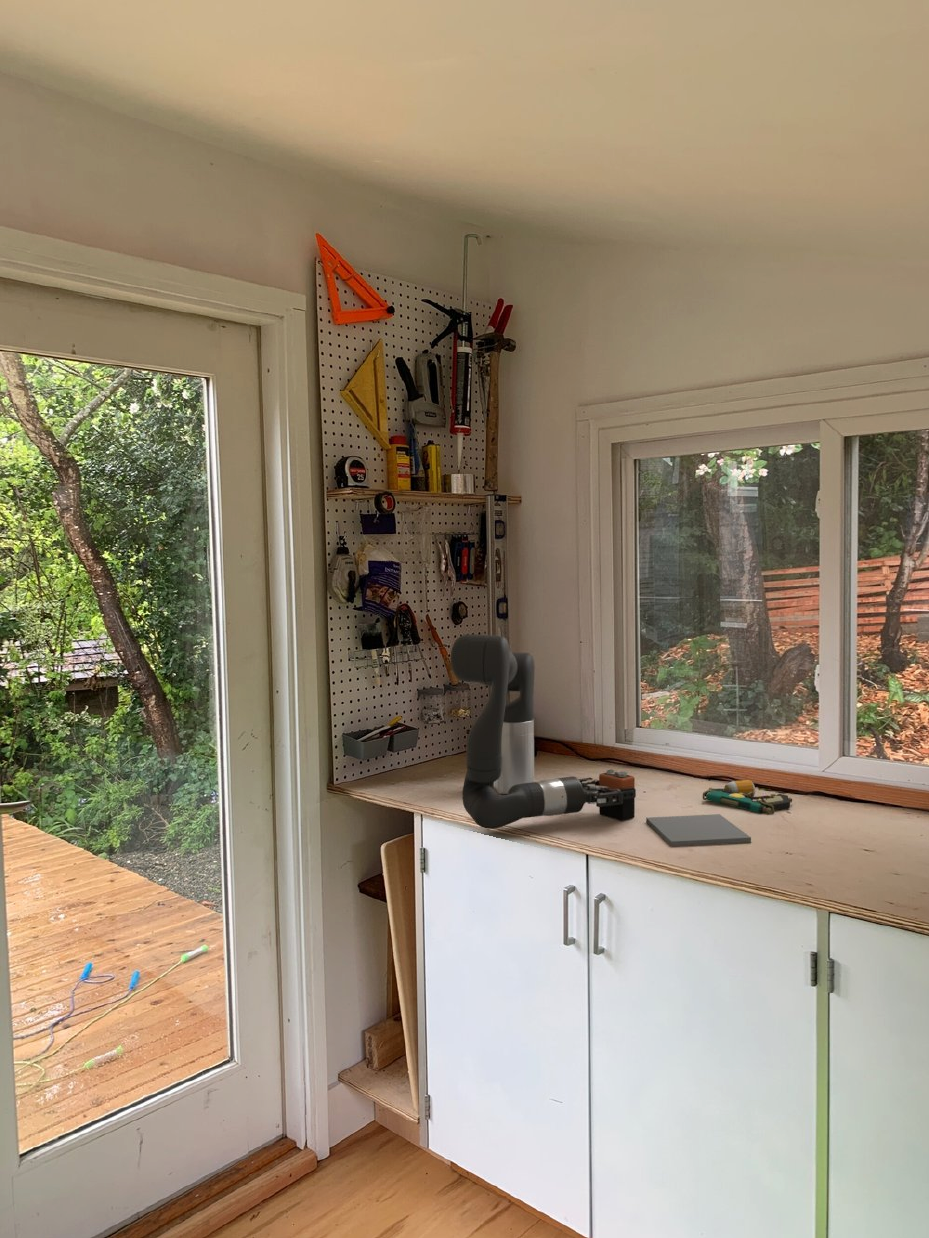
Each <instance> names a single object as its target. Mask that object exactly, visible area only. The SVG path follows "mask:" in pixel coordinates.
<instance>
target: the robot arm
mask: <svg viewBox="0 0 929 1238" xmlns="http://www.w3.org/2000/svg"><path fill="white" fill-rule="evenodd" d="M449 656H450V657H449V660H450V667H451V671H452V673H453V675H454V676H455V677H456V678H457V679H458V680H460V681H462V682H466V683H467V682H468V683H479V684H482V685H484V686H486V687H490V688H491V689H490V695H489V698H488V701H487V703H486V705H485V706H484V708H483V710H482V711H481V713H480V714H479V716H478V717H477V719H476V720H475V721H474V723H473V725H472V726H471V727H470V731H469V732H468V736H467V738H466V739H467V740H466V747H465V748H466V773H465V777H464V782H463V786H462V794H461V795H462V804H463V807H464V810H465V811H466V813H467V814H468V815H469V816H470V817H471V819H472V820H473V821H474V822H475V823H476V825H477V826H479V827H480V828H483V829H487V830H488V829H489V830H492V829H493V830H494V829H499V828H503V827H505V826H508V825H511V824H512V823H515V822H517V821H519V820H522V819H528V818H536V817H551V816H552V817H553V816H559V815H567V814H577V813H579V812H581V811H582V810H583V808H584V806H585V804H586V803H587V804H589V805H596V807H597V808H599V807H603V806H611V805H620V804H622V800H624V799H632V798H635V799H636V795H637V792H636V789H637V788H633V787H630V788H623V789H610V788H609V787H608V786H599V778H598V779H597V778H595V779H593V778H592V777H591V776H590V777H585V778H578V777H576V776H565V777H556V778H547V779H543V780H539V781H535V729H534V728H535V727H534V726H535V723H534V722H535V720H534V719H535V717H534V716H535V714H534V691H535V690H534V687H535V660H534V657H533V655H532V654H531V653H529V652H512V651H511V650H510V645H509V642H508V640H507V638H506V637H504V636H501V635H491V634H490V635H489V634H488V635H487V634H469V633H468V634H463V635H460V636H459V637H458V638H456V639H455V641H454V642H453V644H452V646H451V651H450V655H449ZM508 692H519V696H518V697H517V698H516V699H514V700H512V701H510V702H508V703H507V696H508ZM603 790H605V793H603ZM500 794H501V795H500ZM502 794H503V795H502ZM613 796H615V798H613Z"/></svg>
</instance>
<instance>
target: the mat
mask: <svg viewBox="0 0 929 1238" xmlns="http://www.w3.org/2000/svg"><path fill="white" fill-rule="evenodd" d="M645 823H646V824H647V825H648V826H649V827H650V828H651V829H652V830H653V831H654V832H655V833H657V834H658V835H659V837H661V838H662V839H663V840H664V841H665V842H666V843H667V844H668V845H669V846H671V847H688V846H691V847H692V846H707V845H709V846H712V845H727V844H729V845H730V844H748V843H752V837H751V836H750V835H748V833H747V832H746V833H745V831H743V830H742V829H740V828H739V827H738V826H736V825H735V824H733V823H732V822H731V821H730V820H728V819H727V818H725V816H722V815H721V814H720V813H719V814H717V813H716V814H713V813H712V814H699V815H698V814H695V815H694V814H693V815H678V816H676V815H675V816H657V817H656V816H654V817H646V818H645Z"/></svg>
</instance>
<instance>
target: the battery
mask: <svg viewBox="0 0 929 1238" xmlns="http://www.w3.org/2000/svg"><path fill="white" fill-rule="evenodd" d="M598 780H599V786H608V787H609V788H610V789H623V788H630V787H633V788H635V787H636V785H635V776H634V775H629V774H628V772H627V771H623V770H620V771H615V769H609V768H608V769H606V772H603V773H599V776H598ZM635 789H636V788H635ZM603 793H605V790H603ZM613 798H615V796H613ZM635 800H636V797H635V798H632V799H624V800H622V804H620V805H611V806H603V807H598V809H599V810H598V811H599V813H598V814H599V815H600V816H603V817H605V818H609V819H614V820H616V821H620V822H624V821H627V820H631V819H634V818H635V813H636V811H635V810H636V809H635V807H636V806H635V804H636V803H635Z"/></svg>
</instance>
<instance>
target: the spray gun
mask: <svg viewBox="0 0 929 1238" xmlns="http://www.w3.org/2000/svg"><path fill="white" fill-rule="evenodd" d="M755 795H756V786H755V784H754V782H752V780H749V779H743V780H735V781H734V780H732V781H730V782H728V784H725V785H724V787H723V788H713V787H709V788H708V789H707V790H704V791H703V793H702V801H703V800H704V801H706V800H707V801H710V802H713V803H717V804H721V805H726V806H730V807H734V808H738V809H742V810H746V811H750V812H752V813H756V814H763V813H767V814H775V811H777V810H778V811H779V810H783V809H789V808H791V803H792V802H793V798H792V797H789V795H788V794H787V795H786V794H784V793H783V794H782V793H777V794H775V793H771V794H770V795H767V794H766V795H759V796H755Z"/></svg>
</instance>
